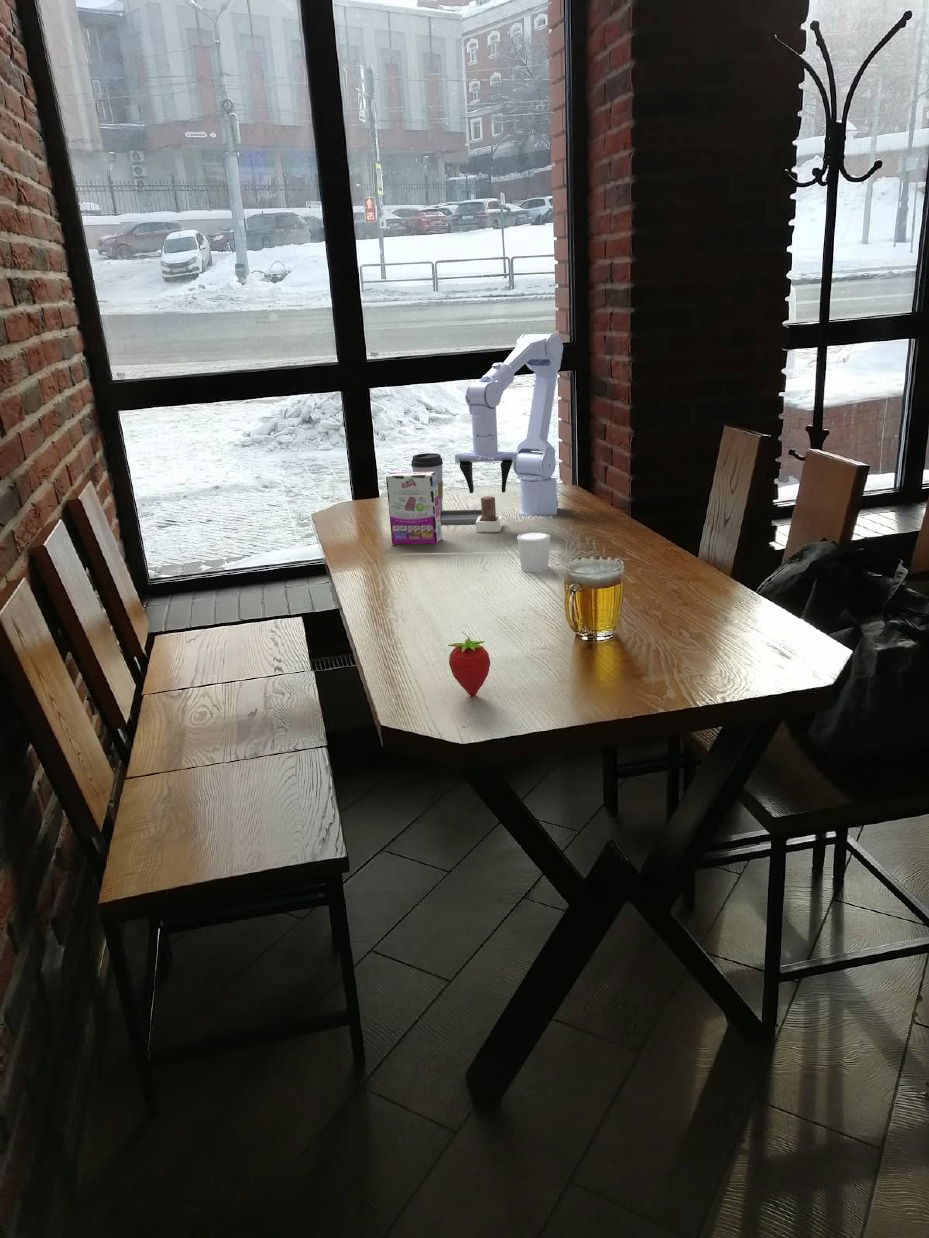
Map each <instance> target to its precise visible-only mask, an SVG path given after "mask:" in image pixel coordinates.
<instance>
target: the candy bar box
mask: <svg viewBox="0 0 929 1238" xmlns="http://www.w3.org/2000/svg"><path fill="white" fill-rule="evenodd" d="M385 482H386V484H385V485H386V490H387V491H386V492H387V493H386V494H387V500H388V501H387V503H388V504H387V505H388V515H389V524H390V534H391V535H390V537H391V544H395V545H394V546H398V545H399V544H400V545H407V544H408V545H412V544H413V545H438V543H439V542H441V540H443V534H442V531H443V530H442V525H441V519H440V505H439V492H438V479H437V472H413V471H410V472H409V471H408V472H407V471H406V472H405V471H404V472H403V471H400V472H391V473H389V474H387V475H386V476H385ZM396 544H397V545H396Z"/></svg>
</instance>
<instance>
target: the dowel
mask: <svg viewBox="0 0 929 1238" xmlns="http://www.w3.org/2000/svg"><path fill="white" fill-rule="evenodd" d="M480 506H481V509H480V510H481V511H482V521H496V516H497V513H496V511H497V509H496V497H495V496H489V495H488V496H483V497H482V496H481V497H480Z"/></svg>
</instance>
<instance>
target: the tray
mask: <svg viewBox="0 0 929 1238" xmlns="http://www.w3.org/2000/svg"><path fill="white" fill-rule="evenodd" d="M478 516H482V511H481V509H459V510H458V509H450V510H449V509H448V510H447V509H446V510H443V509H442V510H441V511H440V519H441V526H445V525H448V526H449V524H450V525H452V524H453V525H476V520H477V518H478Z"/></svg>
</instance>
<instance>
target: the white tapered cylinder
mask: <svg viewBox="0 0 929 1238" xmlns="http://www.w3.org/2000/svg"><path fill="white" fill-rule="evenodd" d="M516 537H517V538H516V539H517V546H518V554H519V560H520V561H519V563H520V569H521V571H523V572H525V573H526V572H527V573H541V572H545V571H547V570H548V569H549V559H550V544H551V535H550V534H549V533H548V532H547V533H546V532H541V531H540V532H539V531H534V532H533V531H532V532H524V533H520V534H518V535H517V536H516Z"/></svg>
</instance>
